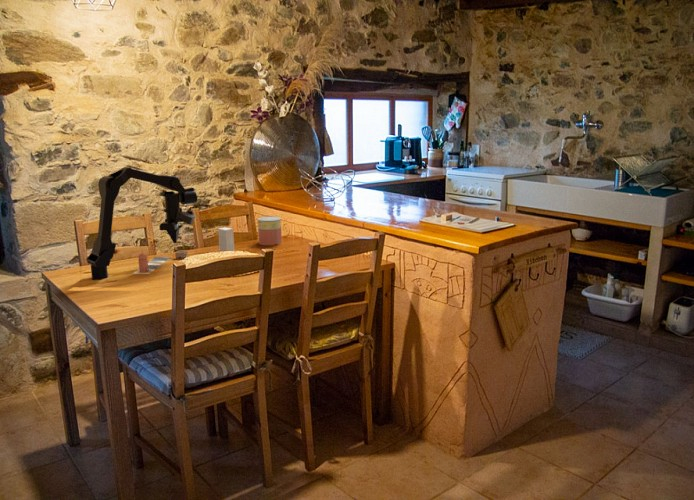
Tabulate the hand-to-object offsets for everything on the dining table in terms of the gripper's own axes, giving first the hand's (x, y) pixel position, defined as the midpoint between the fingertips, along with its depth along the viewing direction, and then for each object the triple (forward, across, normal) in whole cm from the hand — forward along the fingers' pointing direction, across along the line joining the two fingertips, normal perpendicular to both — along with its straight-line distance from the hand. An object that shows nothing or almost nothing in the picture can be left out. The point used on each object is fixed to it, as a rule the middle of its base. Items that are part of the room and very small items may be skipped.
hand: (175, 242), depth 241 cm
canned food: (+9, +41, -34) cm, 54 cm away
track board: (+9, -5, +8) cm, 14 cm away
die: (+9, +7, 0) cm, 11 cm away
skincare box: (+9, +17, -18) cm, 26 cm away
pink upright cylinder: (+8, -15, +8) cm, 19 cm away
